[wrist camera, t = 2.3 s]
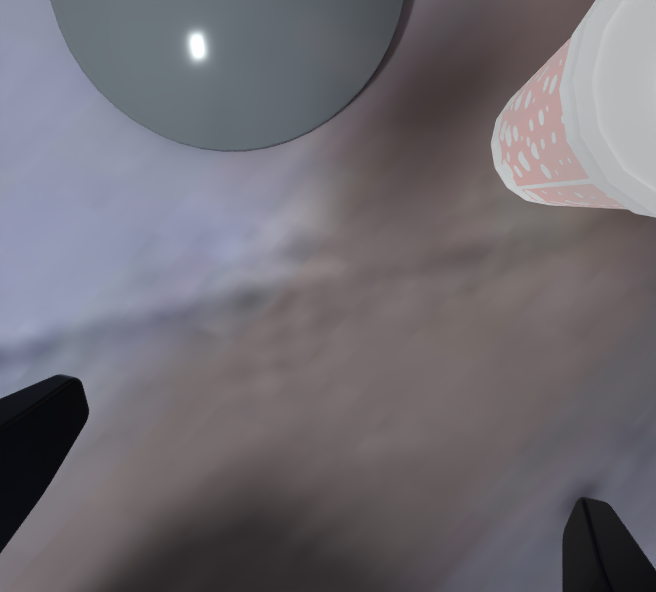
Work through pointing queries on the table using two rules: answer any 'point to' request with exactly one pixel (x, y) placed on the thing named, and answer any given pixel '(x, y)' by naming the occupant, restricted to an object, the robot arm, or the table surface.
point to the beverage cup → (588, 117)
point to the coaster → (229, 63)
